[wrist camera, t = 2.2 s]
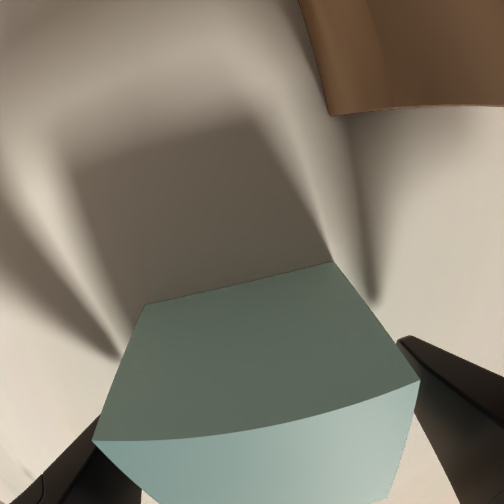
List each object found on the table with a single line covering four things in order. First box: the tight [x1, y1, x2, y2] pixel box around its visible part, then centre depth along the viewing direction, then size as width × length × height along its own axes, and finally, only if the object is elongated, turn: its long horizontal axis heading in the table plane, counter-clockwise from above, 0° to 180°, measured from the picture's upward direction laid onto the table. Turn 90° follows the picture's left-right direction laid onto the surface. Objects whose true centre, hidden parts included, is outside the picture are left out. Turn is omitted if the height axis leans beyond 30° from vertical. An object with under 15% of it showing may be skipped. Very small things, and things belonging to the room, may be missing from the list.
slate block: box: [92, 261, 420, 504], centre depth 7 cm, size 5×5×4 cm
